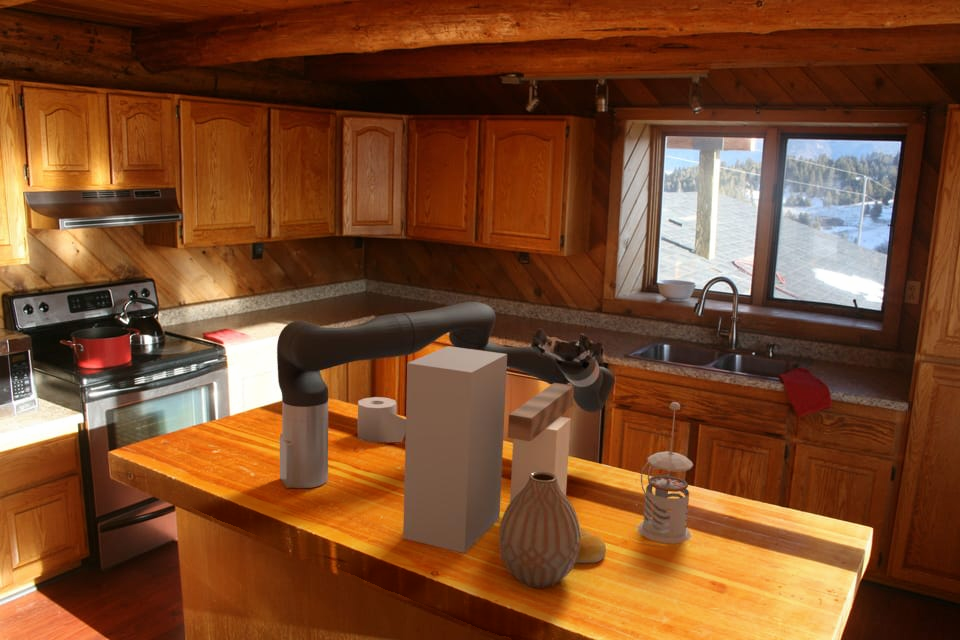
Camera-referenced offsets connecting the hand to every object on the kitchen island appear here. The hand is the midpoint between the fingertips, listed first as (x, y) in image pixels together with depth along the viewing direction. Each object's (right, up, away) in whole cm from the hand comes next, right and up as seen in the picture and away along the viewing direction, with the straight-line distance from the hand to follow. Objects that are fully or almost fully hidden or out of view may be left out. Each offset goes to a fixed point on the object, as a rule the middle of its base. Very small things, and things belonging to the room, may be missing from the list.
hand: (559, 335), depth 157 cm
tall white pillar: (-20, -35, -7) cm, 41 cm away
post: (-5, -36, -7) cm, 37 cm away
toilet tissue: (-39, -26, +41) cm, 62 cm away
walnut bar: (-4, -15, -10) cm, 19 cm away
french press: (+19, -36, -4) cm, 41 cm away
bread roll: (+2, -38, -15) cm, 41 cm away
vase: (-6, -39, -24) cm, 46 cm away
